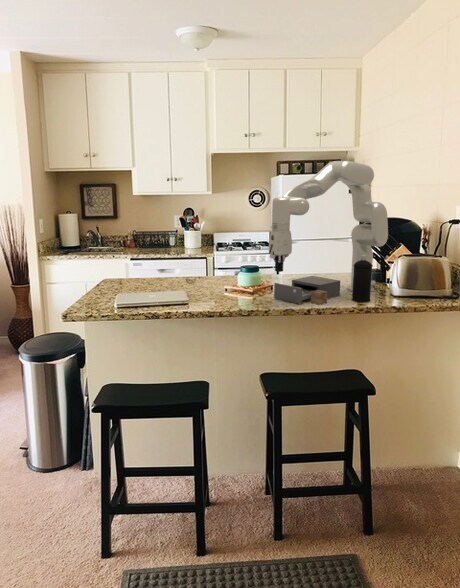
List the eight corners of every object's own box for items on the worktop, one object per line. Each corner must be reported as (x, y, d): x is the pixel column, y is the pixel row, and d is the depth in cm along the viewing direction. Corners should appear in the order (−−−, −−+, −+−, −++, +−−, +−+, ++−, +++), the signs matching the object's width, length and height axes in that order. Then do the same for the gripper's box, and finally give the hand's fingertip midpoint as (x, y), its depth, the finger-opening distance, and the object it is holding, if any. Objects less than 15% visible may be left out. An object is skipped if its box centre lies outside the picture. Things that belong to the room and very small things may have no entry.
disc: (296, 292, 234) (296, 288, 233) (308, 294, 229) (308, 291, 228) (285, 294, 229) (285, 290, 229) (297, 296, 224) (297, 293, 224)
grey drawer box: (312, 290, 249) (312, 275, 248) (339, 295, 238) (340, 280, 236) (291, 294, 239) (291, 279, 237) (319, 300, 228) (319, 285, 226)
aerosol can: (374, 301, 227) (377, 256, 223) (360, 303, 223) (363, 257, 219) (361, 297, 234) (363, 253, 230) (347, 299, 230) (349, 254, 226)
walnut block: (317, 300, 227) (318, 289, 226) (326, 302, 223) (327, 291, 222) (310, 302, 223) (310, 291, 222) (319, 304, 220) (320, 293, 219)
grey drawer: (296, 293, 240) (296, 278, 239) (322, 298, 230) (323, 283, 228) (273, 298, 230) (273, 283, 228) (299, 304, 219) (300, 288, 218)
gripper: (275, 229, 207) (273, 274, 210) (299, 227, 217) (297, 270, 220) (261, 227, 212) (260, 271, 216) (285, 226, 222) (283, 268, 226)
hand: (278, 271), depth 218 cm, fingers closed
